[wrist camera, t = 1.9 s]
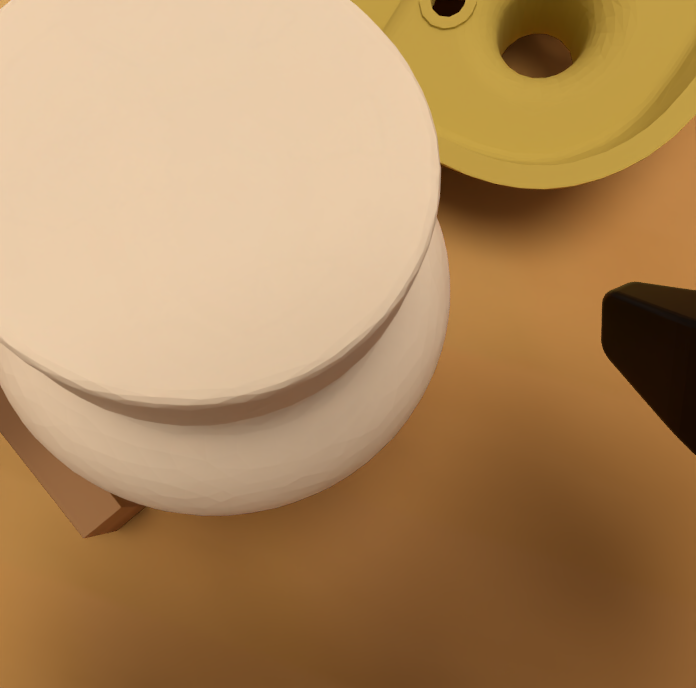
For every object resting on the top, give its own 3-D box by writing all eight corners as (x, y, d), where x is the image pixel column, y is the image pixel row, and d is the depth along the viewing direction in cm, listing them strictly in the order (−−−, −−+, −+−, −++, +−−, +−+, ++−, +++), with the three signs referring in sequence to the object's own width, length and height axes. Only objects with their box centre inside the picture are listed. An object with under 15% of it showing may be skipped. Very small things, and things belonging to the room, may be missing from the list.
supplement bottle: (323, 247, 19) (407, -195, 7) (400, 456, 18) (670, 372, 6) (102, 313, 18) (-274, -76, 6) (169, 541, 17) (-119, 670, 5)
